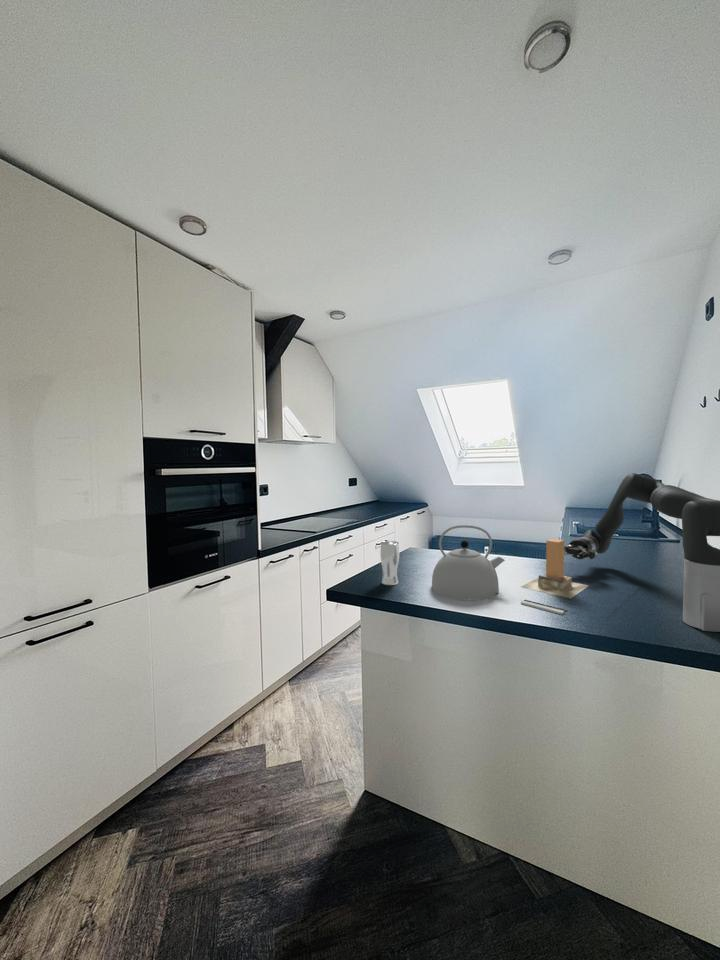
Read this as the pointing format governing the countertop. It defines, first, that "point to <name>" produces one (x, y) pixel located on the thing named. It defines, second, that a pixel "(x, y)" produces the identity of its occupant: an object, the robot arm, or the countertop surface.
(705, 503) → the robot arm
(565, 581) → the wooden socket base
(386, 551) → the beer glass
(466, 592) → the kettle
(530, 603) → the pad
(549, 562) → the tan rectangular block
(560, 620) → the countertop surface
